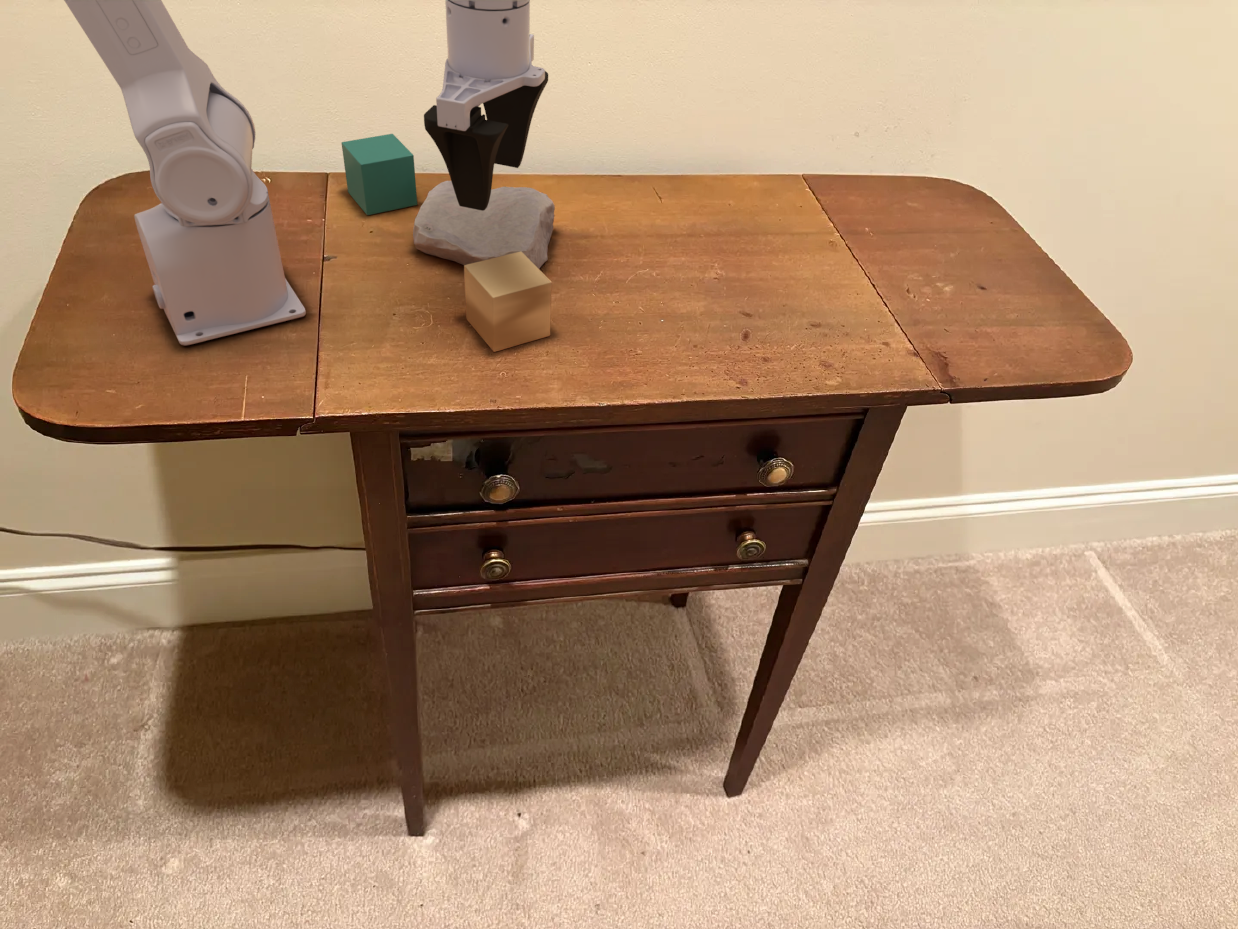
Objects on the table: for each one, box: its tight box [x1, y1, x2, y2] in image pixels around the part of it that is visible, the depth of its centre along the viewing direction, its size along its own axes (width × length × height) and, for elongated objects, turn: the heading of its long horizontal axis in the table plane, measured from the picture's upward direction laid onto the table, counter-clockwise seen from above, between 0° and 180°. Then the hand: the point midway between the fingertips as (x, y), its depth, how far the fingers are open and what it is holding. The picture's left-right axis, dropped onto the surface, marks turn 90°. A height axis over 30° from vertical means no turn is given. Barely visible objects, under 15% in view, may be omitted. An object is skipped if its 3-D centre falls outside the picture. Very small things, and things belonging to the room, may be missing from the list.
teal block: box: [341, 133, 418, 216], centre depth 86 cm, size 5×5×5 cm
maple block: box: [463, 252, 553, 353], centre depth 72 cm, size 5×5×5 cm
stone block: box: [412, 180, 556, 270], centre depth 82 cm, size 12×5×10 cm
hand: (490, 184), depth 72 cm, fingers open, 7 cm apart
